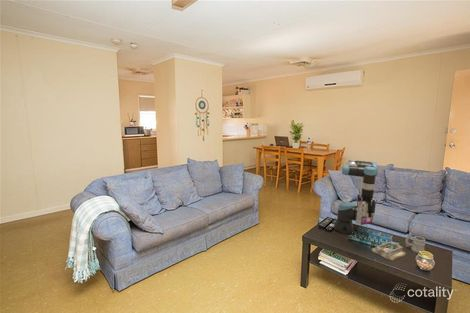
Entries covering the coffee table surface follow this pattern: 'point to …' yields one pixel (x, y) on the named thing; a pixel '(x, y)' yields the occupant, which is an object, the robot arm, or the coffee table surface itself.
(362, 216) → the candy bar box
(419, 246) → the mug
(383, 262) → the coffee table surface
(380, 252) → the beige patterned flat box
